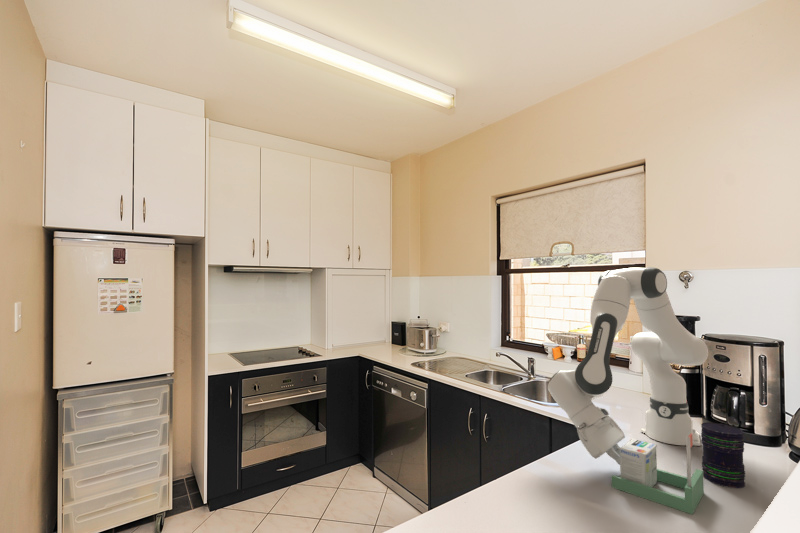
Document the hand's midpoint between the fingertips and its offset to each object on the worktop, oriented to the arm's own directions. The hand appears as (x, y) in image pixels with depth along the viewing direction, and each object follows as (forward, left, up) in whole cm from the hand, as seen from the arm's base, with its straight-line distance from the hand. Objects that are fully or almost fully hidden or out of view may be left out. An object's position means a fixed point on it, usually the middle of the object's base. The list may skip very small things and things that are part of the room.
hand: (623, 462), depth 117 cm
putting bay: (0, +8, -5) cm, 9 cm away
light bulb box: (0, +4, -5) cm, 6 cm away
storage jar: (-22, +20, -5) cm, 30 cm away
